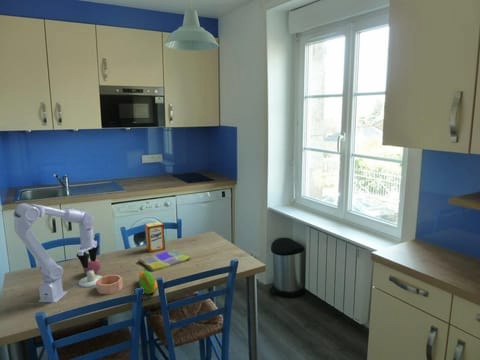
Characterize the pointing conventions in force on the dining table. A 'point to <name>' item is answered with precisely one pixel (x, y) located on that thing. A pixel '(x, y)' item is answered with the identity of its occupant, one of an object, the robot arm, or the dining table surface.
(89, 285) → the lid
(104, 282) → the bowl
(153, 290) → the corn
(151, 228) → the baking soda box
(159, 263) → the dish towel
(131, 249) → the dining table surface
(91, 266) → the cupcake
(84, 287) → the mat
